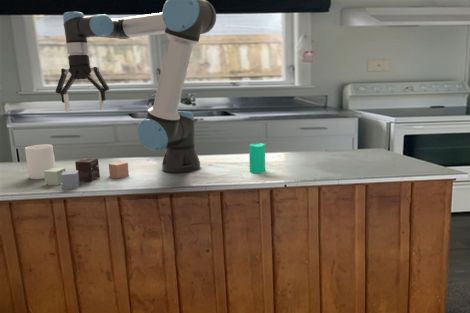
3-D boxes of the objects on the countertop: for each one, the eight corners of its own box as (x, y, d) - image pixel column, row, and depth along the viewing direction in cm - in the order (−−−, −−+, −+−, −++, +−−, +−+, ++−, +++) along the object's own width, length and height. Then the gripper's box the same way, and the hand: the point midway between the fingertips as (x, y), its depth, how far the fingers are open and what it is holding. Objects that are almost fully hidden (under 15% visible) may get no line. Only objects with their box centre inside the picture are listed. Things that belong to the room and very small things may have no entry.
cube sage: (66, 181, 149) (65, 168, 148) (58, 185, 144) (56, 171, 143) (54, 181, 150) (52, 167, 149) (45, 184, 145) (44, 171, 144)
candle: (267, 170, 158) (267, 139, 156) (261, 173, 153) (261, 142, 150) (253, 169, 161) (252, 138, 158) (247, 172, 155) (246, 141, 153)
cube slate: (79, 183, 145) (78, 170, 144) (78, 187, 141) (76, 173, 140) (64, 185, 144) (63, 171, 143) (62, 189, 139) (61, 174, 138)
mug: (24, 180, 152) (19, 149, 150) (39, 172, 164) (35, 143, 161) (49, 179, 152) (45, 148, 150) (62, 171, 164) (59, 142, 161)
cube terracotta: (128, 175, 155) (127, 162, 154) (117, 178, 151) (116, 165, 150) (120, 173, 158) (119, 161, 157) (109, 176, 155) (108, 163, 154)
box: (91, 181, 147) (89, 162, 146) (76, 181, 149) (74, 161, 147) (100, 177, 153) (98, 158, 152) (85, 177, 154) (83, 158, 153)
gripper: (113, 53, 160) (119, 107, 165) (50, 56, 161) (57, 110, 165) (107, 52, 153) (113, 109, 157) (41, 56, 153) (49, 112, 157)
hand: (85, 110), depth 161 cm, fingers open, 13 cm apart
